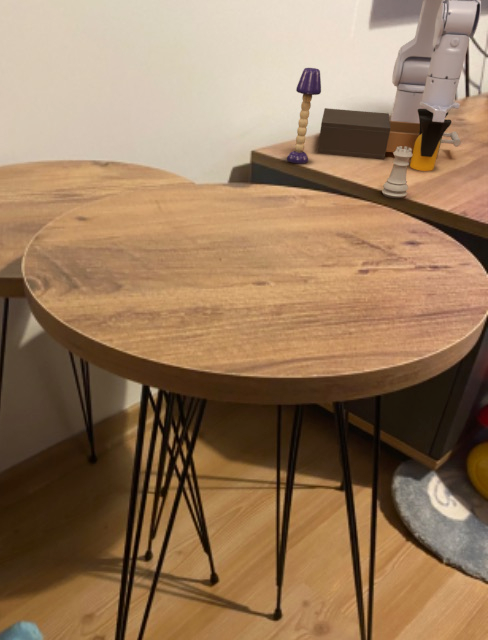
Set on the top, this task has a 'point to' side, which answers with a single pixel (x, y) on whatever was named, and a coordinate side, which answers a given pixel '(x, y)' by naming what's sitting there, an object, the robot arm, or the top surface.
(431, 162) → the pepper
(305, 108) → the toy lamp
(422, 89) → the robot arm
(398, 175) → the rook chess piece
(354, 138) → the cabinet
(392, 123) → the drawer
